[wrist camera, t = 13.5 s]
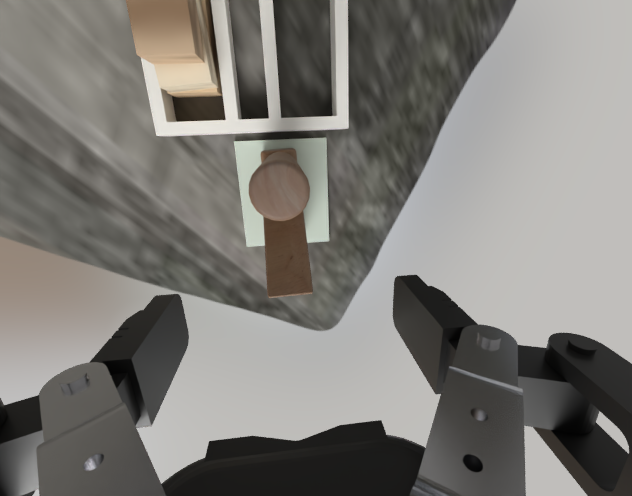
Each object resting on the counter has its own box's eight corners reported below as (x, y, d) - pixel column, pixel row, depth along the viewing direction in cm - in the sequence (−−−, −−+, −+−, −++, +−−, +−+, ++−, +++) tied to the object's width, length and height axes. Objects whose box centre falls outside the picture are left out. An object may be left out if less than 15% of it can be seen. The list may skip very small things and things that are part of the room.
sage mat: (234, 141, 34) (234, 141, 33) (325, 137, 35) (326, 137, 34) (247, 245, 38) (246, 246, 37) (328, 239, 39) (329, 241, 38)
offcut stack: (157, -9, 29) (105, -70, 20) (211, -9, 29) (182, -69, 21) (175, 97, 32) (137, 82, 23) (224, 96, 32) (204, 80, 24)
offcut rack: (130, -60, 28) (62, -149, 19) (341, -58, 29) (365, -139, 21) (167, 136, 33) (127, 134, 24) (343, 129, 34) (362, 125, 26)
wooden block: (272, 243, 37) (265, 327, 20) (261, 150, 34) (241, 158, 17) (303, 240, 38) (320, 321, 21) (295, 147, 34) (308, 154, 17)
